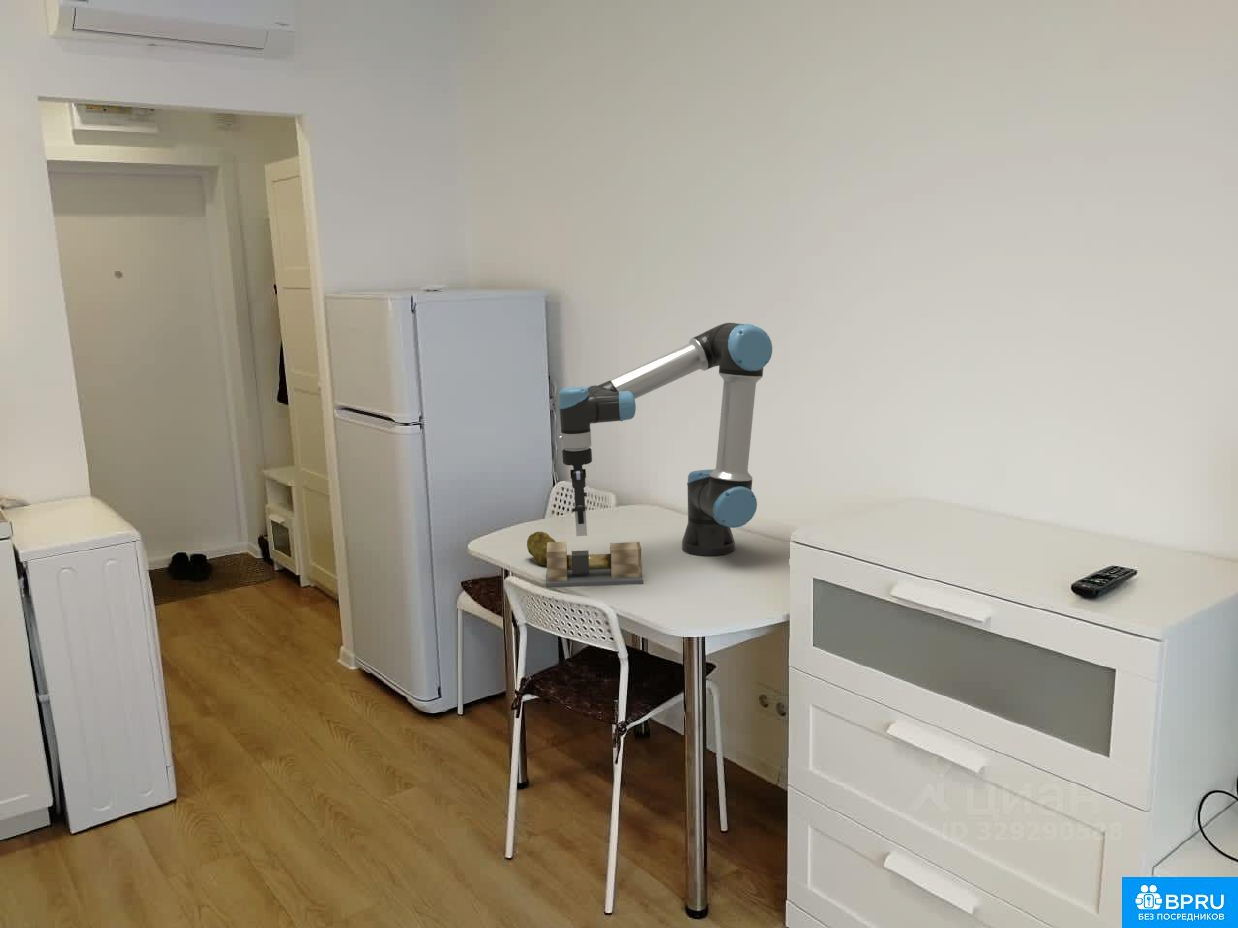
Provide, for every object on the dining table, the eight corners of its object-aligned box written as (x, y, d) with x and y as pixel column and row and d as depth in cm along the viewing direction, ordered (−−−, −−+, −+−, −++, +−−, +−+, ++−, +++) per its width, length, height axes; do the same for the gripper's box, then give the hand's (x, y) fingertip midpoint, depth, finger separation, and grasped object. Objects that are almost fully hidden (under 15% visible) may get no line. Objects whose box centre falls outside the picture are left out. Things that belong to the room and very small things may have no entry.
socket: (567, 570, 259) (566, 541, 258) (567, 580, 251) (566, 551, 249) (548, 571, 259) (547, 542, 258) (547, 581, 250) (546, 551, 249)
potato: (534, 570, 263) (533, 542, 262) (525, 557, 276) (524, 530, 274) (564, 567, 266) (563, 539, 264) (554, 554, 278) (553, 527, 276)
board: (640, 569, 262) (639, 566, 262) (643, 583, 250) (643, 580, 250) (546, 573, 261) (546, 569, 261) (545, 587, 249) (545, 583, 249)
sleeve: (639, 569, 259) (639, 541, 258) (641, 577, 252) (641, 549, 251) (610, 570, 259) (609, 542, 258) (611, 578, 252) (611, 550, 251)
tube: (618, 567, 258) (617, 549, 257) (619, 572, 253) (618, 554, 252) (553, 569, 257) (553, 551, 256) (553, 574, 253) (552, 556, 252)
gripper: (562, 440, 261) (567, 517, 265) (561, 458, 236) (566, 542, 241) (590, 438, 261) (594, 515, 265) (592, 456, 237) (597, 540, 241)
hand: (581, 528), depth 253 cm, fingers open, 13 cm apart
